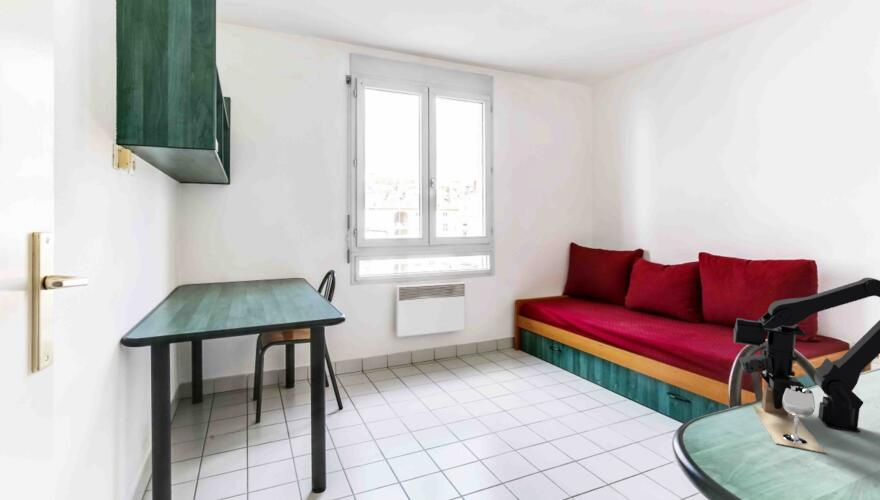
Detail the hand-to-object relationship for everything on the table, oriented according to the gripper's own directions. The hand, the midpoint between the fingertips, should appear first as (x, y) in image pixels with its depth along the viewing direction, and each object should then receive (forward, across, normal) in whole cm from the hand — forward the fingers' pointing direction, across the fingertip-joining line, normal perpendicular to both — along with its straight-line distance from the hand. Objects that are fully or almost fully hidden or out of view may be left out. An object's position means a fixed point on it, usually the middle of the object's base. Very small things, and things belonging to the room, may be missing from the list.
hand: (775, 406), depth 115 cm
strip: (+2, +9, 0) cm, 9 cm away
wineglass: (+2, +16, 0) cm, 16 cm away
